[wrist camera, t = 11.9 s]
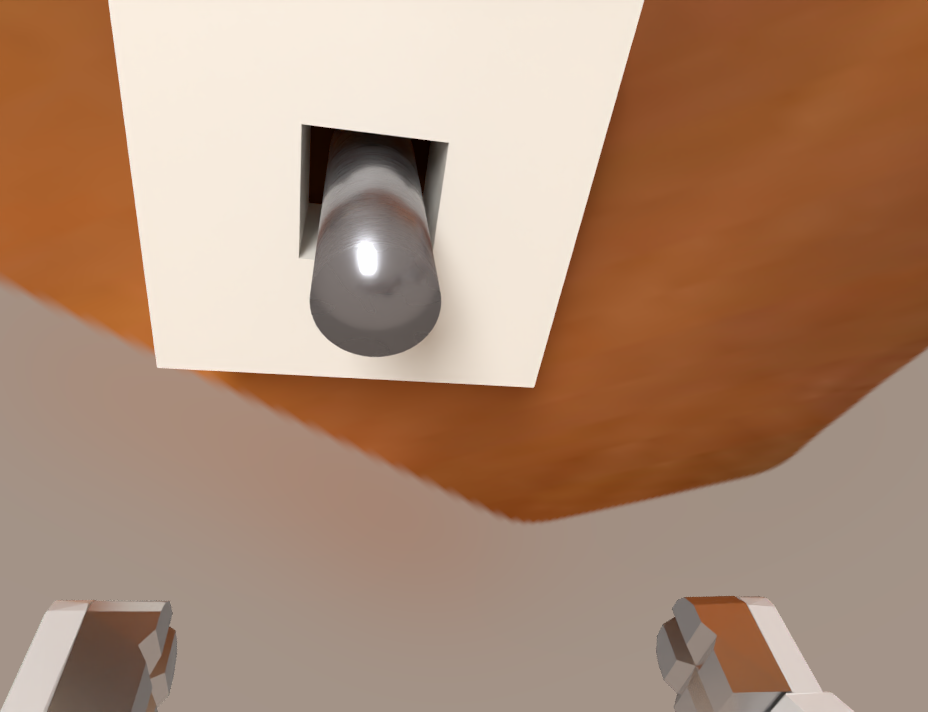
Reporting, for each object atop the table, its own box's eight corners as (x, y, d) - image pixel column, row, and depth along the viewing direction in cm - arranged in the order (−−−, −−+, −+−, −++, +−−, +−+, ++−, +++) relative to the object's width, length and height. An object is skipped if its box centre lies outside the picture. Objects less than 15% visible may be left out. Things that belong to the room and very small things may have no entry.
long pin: (418, 116, 30) (450, 251, 19) (408, 197, 33) (431, 360, 21) (331, 104, 30) (311, 238, 18) (327, 188, 32) (307, 353, 21)
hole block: (597, -28, 28) (646, -10, 23) (512, 323, 38) (533, 387, 33) (147, -112, 24) (93, -112, 19) (186, 300, 34) (157, 367, 30)
